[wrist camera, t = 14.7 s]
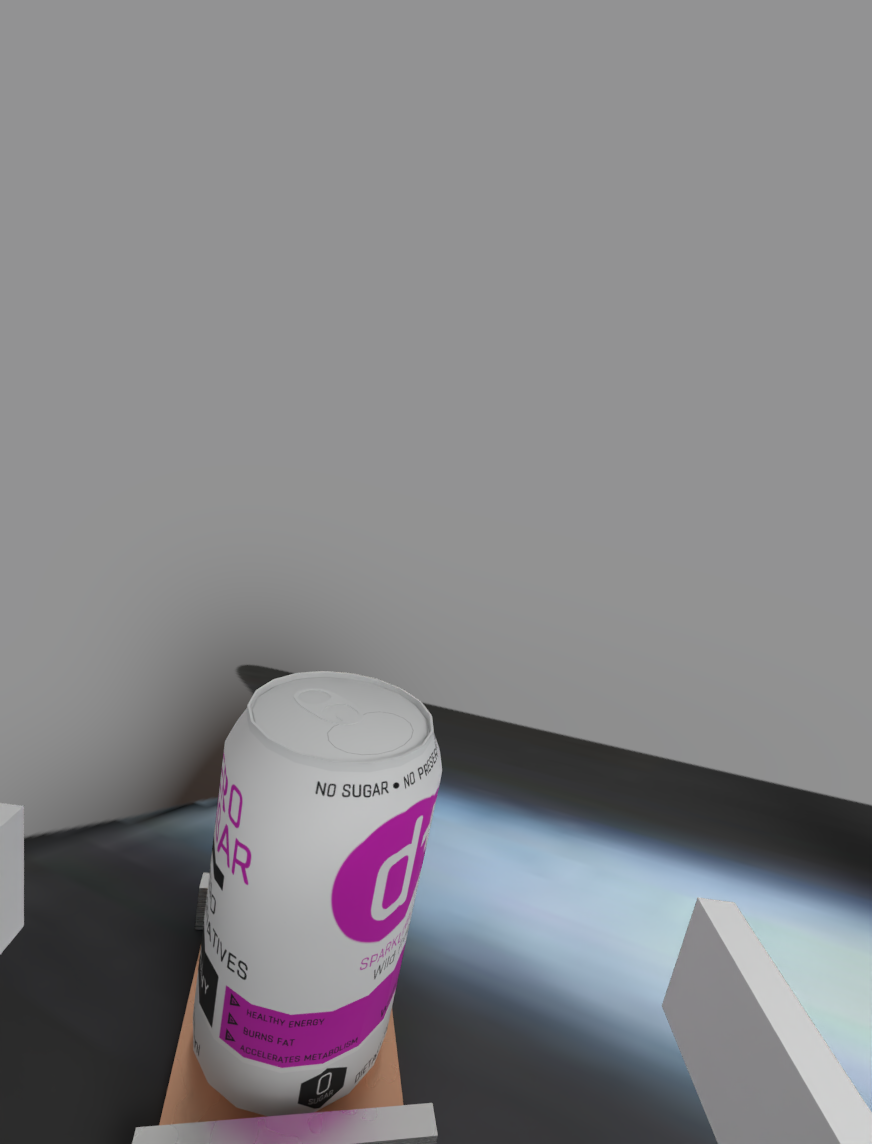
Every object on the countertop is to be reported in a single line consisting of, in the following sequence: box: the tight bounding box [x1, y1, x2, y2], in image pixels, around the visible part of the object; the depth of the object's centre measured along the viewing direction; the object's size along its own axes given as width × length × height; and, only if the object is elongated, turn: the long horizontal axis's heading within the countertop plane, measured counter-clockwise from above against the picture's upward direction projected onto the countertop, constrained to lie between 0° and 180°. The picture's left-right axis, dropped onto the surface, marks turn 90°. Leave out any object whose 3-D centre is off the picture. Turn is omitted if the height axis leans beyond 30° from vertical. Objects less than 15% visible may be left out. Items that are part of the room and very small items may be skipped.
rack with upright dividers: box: [132, 873, 438, 1144], centre depth 30 cm, size 10×23×2 cm, turn 11°
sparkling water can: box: [193, 671, 442, 1116], centre depth 23 cm, size 8×8×15 cm
